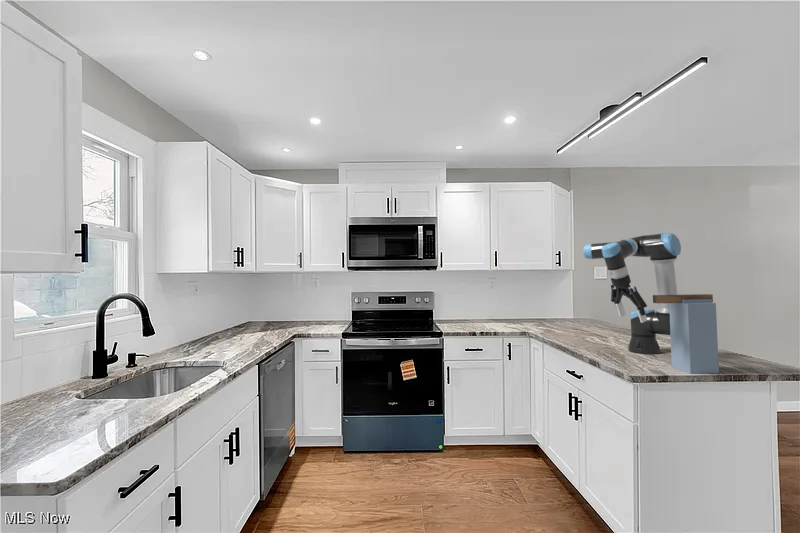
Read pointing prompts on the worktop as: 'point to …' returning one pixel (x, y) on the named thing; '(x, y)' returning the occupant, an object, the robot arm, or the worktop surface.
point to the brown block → (679, 298)
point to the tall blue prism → (694, 336)
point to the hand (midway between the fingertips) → (633, 318)
